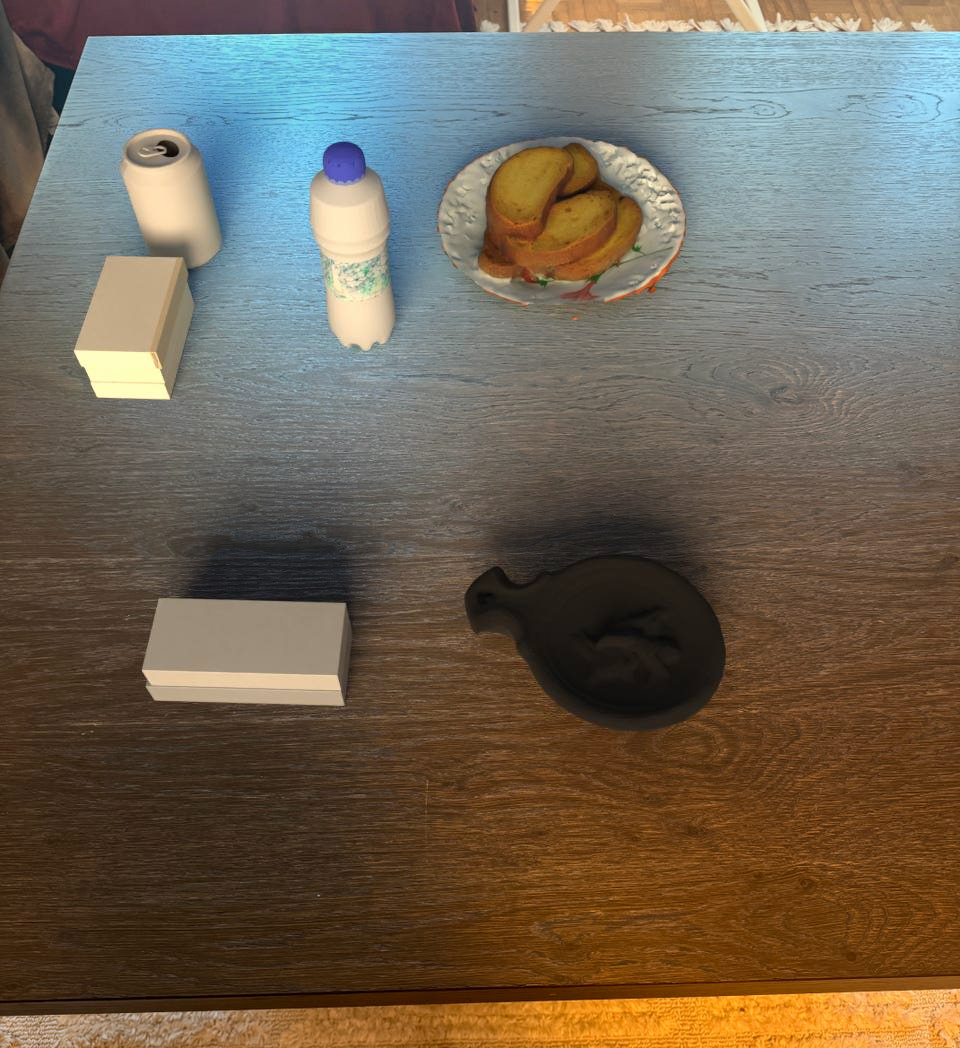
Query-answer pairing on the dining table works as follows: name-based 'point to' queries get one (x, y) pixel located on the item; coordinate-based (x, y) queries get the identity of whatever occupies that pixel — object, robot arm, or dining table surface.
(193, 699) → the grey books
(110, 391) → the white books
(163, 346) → the cream flat block
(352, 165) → the bottle
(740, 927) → the dining table surface
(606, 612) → the oil lamp
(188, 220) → the can
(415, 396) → the dining table surface
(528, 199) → the food on plate
